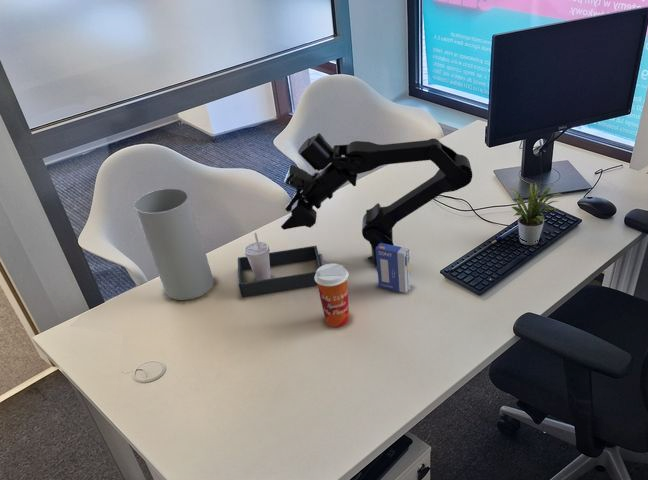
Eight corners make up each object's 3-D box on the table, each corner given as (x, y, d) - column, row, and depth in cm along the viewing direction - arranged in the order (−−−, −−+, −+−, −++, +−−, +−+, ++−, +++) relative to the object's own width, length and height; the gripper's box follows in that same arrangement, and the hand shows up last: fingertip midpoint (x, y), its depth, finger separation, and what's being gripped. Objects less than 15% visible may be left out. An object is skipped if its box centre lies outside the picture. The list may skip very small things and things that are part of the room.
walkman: (378, 287, 158) (375, 247, 150) (383, 281, 160) (380, 241, 152) (406, 293, 155) (404, 252, 147) (411, 287, 157) (409, 247, 149)
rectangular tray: (322, 257, 170) (320, 244, 167) (328, 283, 160) (326, 271, 157) (240, 270, 167) (237, 257, 164) (242, 298, 157) (238, 285, 154)
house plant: (569, 248, 168) (577, 193, 157) (524, 260, 164) (530, 204, 153) (541, 224, 178) (547, 171, 167) (498, 235, 174) (502, 181, 164)
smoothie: (273, 286, 160) (263, 239, 151) (249, 287, 160) (237, 240, 151) (277, 272, 165) (268, 226, 156) (254, 273, 165) (243, 227, 156)
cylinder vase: (222, 277, 164) (198, 190, 148) (199, 304, 155) (170, 215, 139) (181, 271, 167) (153, 186, 151) (156, 298, 158) (123, 210, 142)
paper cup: (324, 333, 145) (316, 283, 135) (319, 314, 150) (311, 265, 141) (357, 326, 146) (351, 277, 137) (350, 307, 152) (344, 259, 142)
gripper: (307, 142, 155) (265, 180, 161) (300, 175, 140) (254, 215, 147) (338, 174, 160) (296, 209, 167) (334, 208, 146) (289, 246, 153)
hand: (284, 219), depth 158 cm, fingers open, 9 cm apart
